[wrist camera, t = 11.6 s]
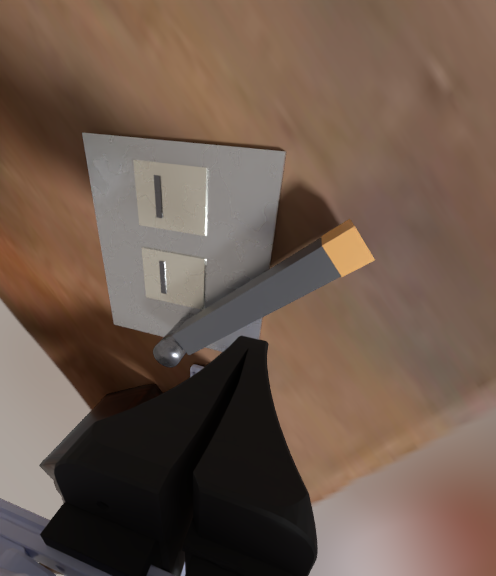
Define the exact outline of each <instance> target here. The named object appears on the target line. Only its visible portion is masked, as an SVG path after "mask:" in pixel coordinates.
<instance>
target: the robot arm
mask: <svg viewBox="0 0 496 576" xmlns="http://www.w3.org/2000/svg"><path fill="white" fill-rule="evenodd" d="M267 350H268V343H267V341H263V340H259V339H254V338H250V337H246V336H242V335H241V336H239V337H238V338H237V339H236V340H235V341H234V342H233V343H232V344H231V345H230V346H229V347H228V348H227V349H226V350H225V351H223V352H222V353H221V354H220V355H219V356H218V357H217V358H215V359H214V360H213V361H212V362H211V363H209V364H208V365H207V366H205V367H203V366H199V365H195V364H194V365H192V366H191V368H190V378H189V379H187V380H185V381H184V382H182V383H181V384H179V385H177V386H176V387H174V388H172V389H170V390H169V391H167V392H165V393H163V394H161V395H159V396H157V397H155V398H153V399H151V400H149V401H147V402H145V403H142V404H140V405H138V406H136V407H134V408H131V409H129V410H126V411H124V412H121V413H118V414H115V415H113V416H110V417H107V418H105V419H102V420H99V421H96V422H94V423H93V424H92V425H91V426H90V427H89V428H88V429H87V430H86V431H85V432H84V433H83V434H82V435H81V436H80V437H79V438H78V439H77V441H76V442H75V443H74V444H73V445H72V446H71V447H70V448H69V449H68V451H67V452H66V453H65V454H64V455H63V456H62V457H61V458H60V459H59V461H58V462H57V463H56V464H55V468H54V475H55V479H56V481H57V484H58V486H59V488H60V491H61V493H62V495H63V498H64V500H65V502H64V504H63V505H62V506H61V508H60V509H59V510H58V511H57V513H56V514H55V515H54V517H53V518H52V519H51V520H48V519H46V518H44V517H41V516H39V515H37V514H35V513H32V512H30V511H28V510H25V509H23V508H21V507H19V506H17V505H14V504H12V503H10V502H7V501H5V500H3V499H1V498H0V576H56V575H55V574H54V573H52V572H51V571H50V570H48V569H47V568H45V567H44V566H42V565H41V564H43V565H45V566H47V567H49V568H51V569H53V570H56V571H58V572H60V573H62V574H64V576H308V575H309V573H310V571H311V569H312V567H313V565H314V563H315V561H316V558H317V536H316V528H315V522H314V516H313V511H312V506H311V502H310V497H309V493H308V491H307V489H306V487H305V485H304V483H303V481H302V479H301V476H300V474H299V472H298V470H297V468H296V465H295V463H294V461H293V458H292V456H291V454H290V451H289V449H288V446H287V443H286V441H285V438H284V435H283V432H282V430H281V427H280V424H279V421H278V417H277V414H276V411H275V407H274V403H273V399H272V394H271V389H270V384H269V378H268V369H267ZM36 561H37V562H36ZM38 562H39V563H41V564H39V563H38Z"/></svg>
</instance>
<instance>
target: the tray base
mask: <svg viewBox="0 0 496 576" xmlns="http://www.w3.org/2000/svg"><path fill="white" fill-rule="evenodd" d="M82 136H83V142H84V148H85V154H86V160H87V166H88V172H89V178H90V184H91V190H92V196H93V202H94V208H95V214H96V220H97V226H98V232H99V238H100V244H101V250H102V256H103V262H104V268H105V274H106V280H107V286H108V292H109V298H110V304H111V310H112V316H113V322H114V325H118V326H122V327H126V328H130V329H134V330H138V331H142V332H146V333H150V334H154V335H158V336H162V337H164V338H163V339H162V340H161V341H160V342H159V343H158V344H157V345H156V346H155V347H154V349H153V354H154V357H155V359H156V360H157V361H158V362H159V363H160V364H162V365H163V366H166V367H175V366H176V365H177V364H178V363H179V362H180V360H181V359H182V358H183V356H184V355H185V353H186V351H185V350H184V349H183V348H182V347H181V346H180V344H179V343H178V342H177V341H176V340H175V339H174V338H173V336H172V335H173V334H174V333H175V332H176V331H177V330H178V329H179V328H180V326H181V325H182V324H183V323H184V322H185V321H186V320H188V319H189V318H191V317H192V316H194V315H196V314H197V313H199V312H201V311H202V310H204V309H205V308H207V307H209V306H210V305H212V304H214V303H215V302H217V301H218V300H220V299H222V298H223V297H225V296H227V295H228V294H230V293H232V292H233V291H235V290H236V289H238V288H240V287H241V286H243V285H245V284H246V283H248V282H249V281H251V280H253V279H254V278H256V277H258V276H259V275H261V274H262V273H264V272H266V271H267V270H269V269H270V263H271V256H272V249H273V242H274V235H275V228H276V221H277V214H278V208H279V201H280V194H281V187H282V180H283V173H284V166H285V159H286V152H285V151H274V150H264V149H253V148H242V147H232V146H221V145H210V144H199V143H189V142H178V141H167V140H157V139H146V138H135V137H124V136H114V135H103V134H92V133H82ZM262 319H263V317H262V318H260V319H258V320H256V321H254V322H252V323H250V324H248V325H247V326H245V327H243V328H241V329H239V330H237V331H235V332H233V333H231V334H229V335H227V336H225V337H223V338H222V339H220V340H218V341H216V342H214V343H212V344H210V345H208V346H206V348H210V349H214V350H218V351H222V352H223V351H225V350H226V349H227V348H228V347H229V346H230V345H231V344H232V343H233V342H234V341H235V340H236V339H237V338H238V337H239V336H241V335H242V336H246V337H250V338H254V339H259V340H260V333H261V326H262Z"/></svg>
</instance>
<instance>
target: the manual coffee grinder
mask: <svg viewBox="0 0 496 576" xmlns="http://www.w3.org/2000/svg"><path fill="white" fill-rule="evenodd" d="M161 394H163V393H162V392H161V390H160V389H159V388H158V387H157V385H156V384H150V385H143V386H139V387H135V388H131V389H126V390H122V391H118V392H114V393H111V394H107V395H106V396H105V397H104V398H103V399H102V400H101V401H100V402H99V403H98V404H97V405H96V406H95V408H94V409H93V410H92V411H91V412H90V413H89V414H88V415H87V416H86V417H85V418H84V419H83V420H82V421H81V422H80V423H79V424H78V425H77V426H76V427H75V428H74V429H73V430H72V431H71V432H70V433H69V434H68V435H67V436H66V438H65V439H64V440H63V441H62V442H61V443H60V444H59V445H58V446H57V447H56V448H55V449H54V450H53V451H52V452H51V454H49V455H48V457H46V459H44V460H43V461H42V463H41V464H40V467H41V468H42V469H43V470H44V471H45V472H46V473H47V474H48V475H49V476H50V477H51V478H52V479H53V480H54V484H55V487H56V490H57V491H58V492H59V493H60V495H61V496H62V500H63V503H64V502H65V500H64V498H63V495H62V493H61V491H60V488H59V486H58V484H57V481H56V479H55V475H54V468H55V464H56V463H57V462H58V461H59V459H60V458H61V457H62V456H63V455H64V454H65V453H66V452H67V451H68V449H69V448H70V447H71V446H72V445H73V444H74V443H75V442H76V441H77V439H78V438H79V437H80V436H81V435H82V434H83V433H84V432H85V431H86V430H87V429H88V428H89V427H90V426H91V425H92V424H93V423H94V422H96V421H99V420H102V419H105V418H107V417H110V416H113V415H115V414H118V413H121V412H124V411H126V410H129V409H131V408H134V407H136V406H138V405H140V404H142V403H145V402H147V401H149V400H151V399H153V398H155V397H157V396H159V395H161ZM39 564H41V563H39ZM41 565H42V566H44V567H45V568H47V569H48V570H50V571H51V572H52V573H54V574H62V573H60V572H58V571H56V570H53V569H51V568H49V567H47V566H45V565H43V564H41ZM62 575H64V574H62Z"/></svg>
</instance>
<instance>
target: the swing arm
mask: <svg viewBox="0 0 496 576" xmlns="http://www.w3.org/2000/svg"><path fill="white" fill-rule="evenodd" d="M374 260H375V259H374V258H373V256H372V254H371V253H370V251H369V249H368V248H367V246H366V244H365V243H364V241H363V239H362V238H361V236H360V234H359V233H358V231H357V229H356V228H355V226H354V224H353V223H352V222H351V220H350V219H349V220H347V221H345V222H344V223H342V224H340V225H339V226H337V227H336V228H334V229H332V230H331V231H329V232H327V233H326V234H324V235H323V236H321V238H319V239H318V240H316V241H315V242H313V243H311V244H310V245H308V246H306V247H305V248H303V249H302V250H300V251H298V252H297V253H295V254H293V255H292V256H290V257H288V258H287V259H285V260H284V261H282V262H280V263H279V264H277V265H275V266H274V267H272V268H271V269H269V270H267V271H266V272H264V273H262V274H261V275H259V276H258V277H256V278H254V279H253V280H251V281H249V282H248V283H246V284H245V285H243V286H241V287H240V288H238V289H236V290H235V291H233V292H232V293H230V294H228V295H227V296H225V297H223V298H222V299H220V300H218V301H217V302H215V303H214V304H212V305H210V306H209V307H207V308H205V309H204V310H202V311H201V312H199V313H197V314H196V315H194V316H192V317H191V318H189V319H188V320H186V321H185V322H184V323H183V324H182V325H181V326H180V328H179V329H178V330H177V331H176V332H175V333H174V334H173V335H172V336H173V338H174V339H175V340H176V341H177V342H178V343H179V344H180V346H181V347H182V348H183V349H184V350H185V351H186V353H187V354H188V355H191V354H193V353H195V352H197V351H198V350H200V349H202V348H204V347H206V346H208V345H210V344H212V343H214V342H216V341H218V340H220V339H222V338H223V337H225V336H227V335H229V334H231V333H233V332H235V331H237V330H239V329H241V328H243V327H245V326H247V325H248V324H250V323H252V322H254V321H256V320H258V319H260V318H262V317H264V316H266V315H268V314H270V313H272V312H273V311H275V310H277V309H279V308H281V307H283V306H285V305H287V304H289V303H291V302H293V301H295V300H297V299H298V298H300V297H302V296H304V295H306V294H308V293H310V292H312V291H314V290H316V289H318V288H320V287H322V286H323V285H325V284H327V283H329V282H331V281H333V280H335V279H337V278H339V277H341V276H342V277H343V276H345V275H347V274H349V273H351V272H353V271H355V270H357V269H359V268H361V267H362V266H364V265H366V264H368V263H370V262H372V261H374Z"/></svg>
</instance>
